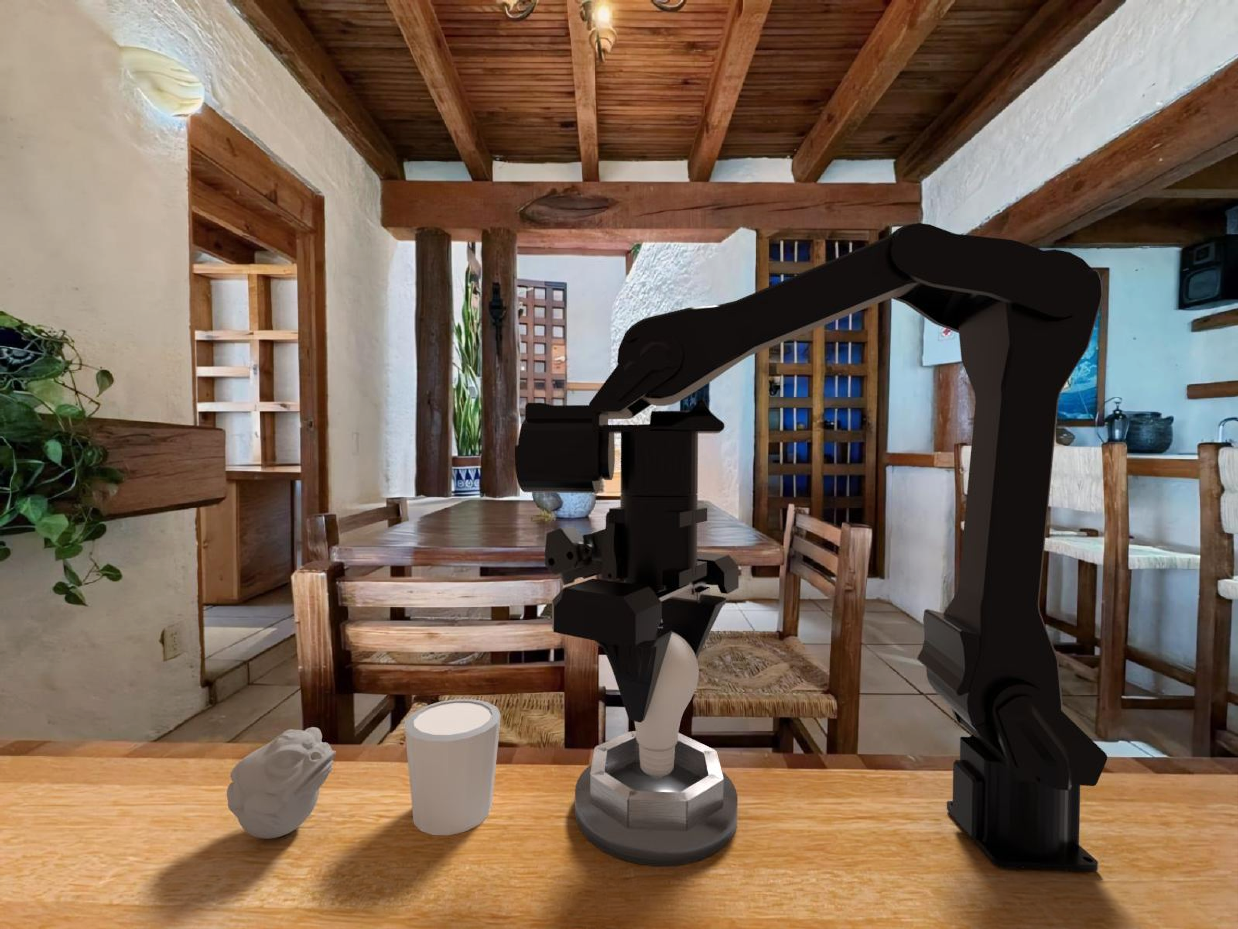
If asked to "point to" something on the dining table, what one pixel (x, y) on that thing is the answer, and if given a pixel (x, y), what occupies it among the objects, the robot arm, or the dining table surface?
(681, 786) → the socket base
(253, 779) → the frog figurine
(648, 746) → the lightbulb
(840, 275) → the robot arm
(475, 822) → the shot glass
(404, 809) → the dining table surface
